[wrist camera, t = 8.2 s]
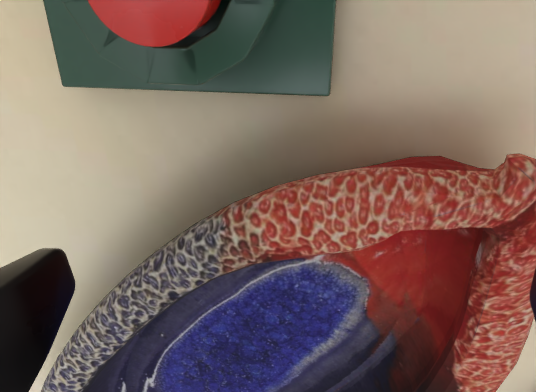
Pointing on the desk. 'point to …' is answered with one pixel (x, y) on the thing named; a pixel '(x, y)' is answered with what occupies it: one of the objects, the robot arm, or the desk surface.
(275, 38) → the button block
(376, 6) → the desk surface
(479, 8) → the desk surface
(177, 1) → the button
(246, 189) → the desk surface
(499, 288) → the dish
